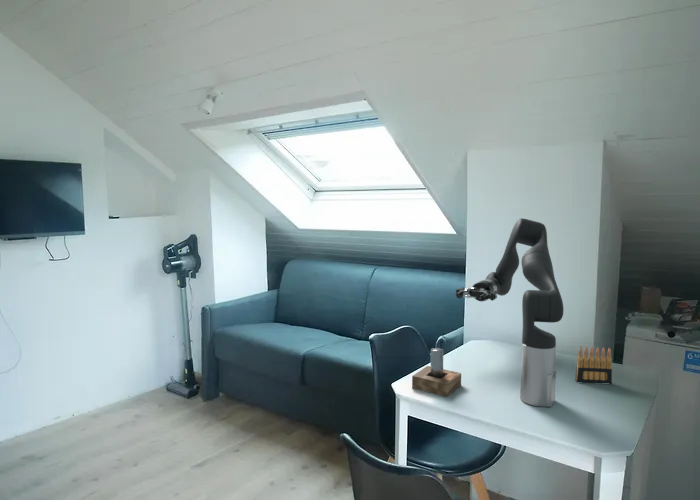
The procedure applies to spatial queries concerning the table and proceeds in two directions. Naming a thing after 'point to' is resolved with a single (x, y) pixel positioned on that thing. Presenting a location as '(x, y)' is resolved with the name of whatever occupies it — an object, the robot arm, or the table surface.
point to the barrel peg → (437, 363)
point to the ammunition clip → (594, 367)
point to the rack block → (436, 381)
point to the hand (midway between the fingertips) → (469, 297)
